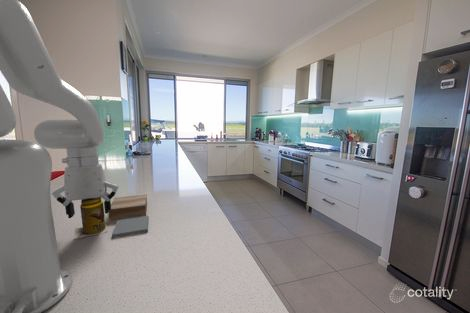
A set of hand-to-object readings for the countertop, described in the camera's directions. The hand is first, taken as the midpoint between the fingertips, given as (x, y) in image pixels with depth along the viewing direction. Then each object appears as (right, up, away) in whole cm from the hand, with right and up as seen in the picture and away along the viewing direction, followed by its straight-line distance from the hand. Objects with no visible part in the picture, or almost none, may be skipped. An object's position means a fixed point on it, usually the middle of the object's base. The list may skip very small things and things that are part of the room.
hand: (90, 213), depth 67 cm
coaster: (+12, -5, +3) cm, 13 cm away
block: (+5, -3, +15) cm, 16 cm away
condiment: (0, -6, +1) cm, 6 cm away
